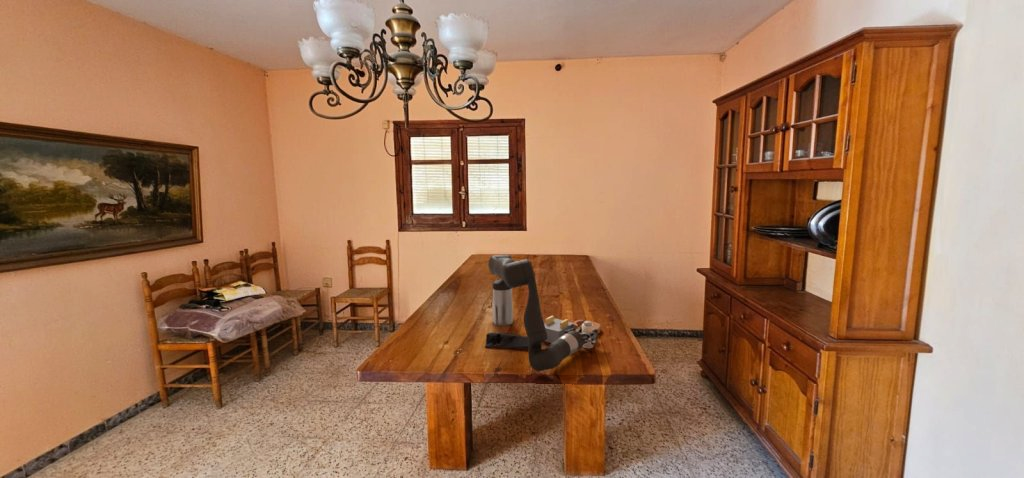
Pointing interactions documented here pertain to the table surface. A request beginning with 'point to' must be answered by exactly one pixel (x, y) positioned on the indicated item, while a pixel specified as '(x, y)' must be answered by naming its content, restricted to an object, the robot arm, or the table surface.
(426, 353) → the table surface
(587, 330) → the white bottle
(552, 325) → the block
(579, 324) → the bracket
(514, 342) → the dark slate chunk
